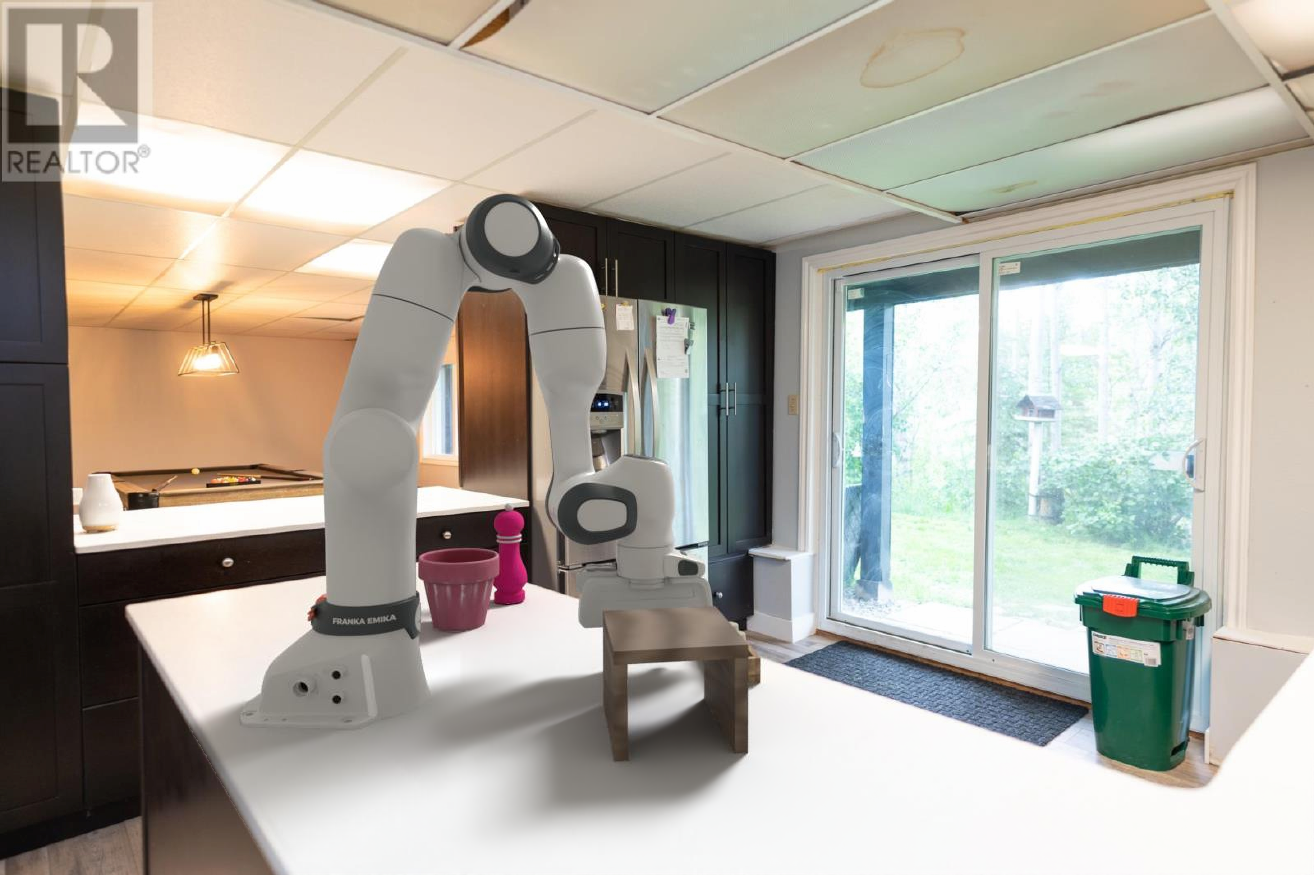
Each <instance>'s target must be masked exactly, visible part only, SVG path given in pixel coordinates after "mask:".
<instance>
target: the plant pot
mask: <svg viewBox="0 0 1314 875" xmlns="http://www.w3.org/2000/svg"><path fill="white" fill-rule="evenodd" d="M417 566H418V567H417V577H418V579H419V580H421V581H423V585H424V591H425V595H426V599H427V604H428V609H429V613H430V618H431V620H432V621H431V622H432V627H433V628H434V629H435V630H437V631H440V630H441V631H440V632H446V631H461V632H465V631H464V630H468V631H472V629H473V630H476V629H479V628H481V627H482V625H483V626H484V625H485V623H486V619H487V614H488V611H489V604H490V600H491V598H492V597H491V596H492V592H493V591H492V590H493V587H494V586H493V581H494V578H495V577H496V576H498V574H499V552H496V551H494V550H491V549H487V548H486V549H485V548H478V547H477V548H474V547H473V548H470V547H469V548H468V547H466V548H465V547H464V548H463V547H462V548H460V547H459V548H447V549H439V550H431V551H428V552H425V553H423V554H421V555H419V557H418V563H417ZM480 626H481V627H480ZM478 627H479V628H478Z"/></svg>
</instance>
